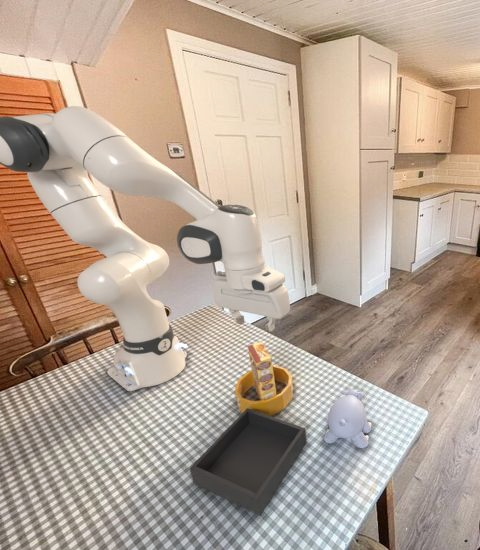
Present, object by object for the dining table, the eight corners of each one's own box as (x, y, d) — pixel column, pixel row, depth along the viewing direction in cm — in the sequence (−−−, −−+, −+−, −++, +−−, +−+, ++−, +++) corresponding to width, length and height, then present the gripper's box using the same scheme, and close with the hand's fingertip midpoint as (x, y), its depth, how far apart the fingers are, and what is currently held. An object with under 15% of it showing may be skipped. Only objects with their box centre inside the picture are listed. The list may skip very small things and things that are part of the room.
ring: (226, 408, 81) (222, 393, 79) (261, 374, 94) (259, 360, 92) (271, 424, 76) (269, 409, 74) (302, 386, 89) (301, 372, 87)
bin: (194, 484, 62) (189, 468, 60) (249, 422, 77) (247, 408, 75) (260, 516, 57) (256, 499, 55) (306, 443, 71) (305, 428, 69)
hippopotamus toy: (375, 407, 82) (375, 379, 78) (365, 458, 68) (366, 426, 64) (336, 402, 83) (335, 374, 80) (319, 451, 69) (317, 419, 66)
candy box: (278, 403, 82) (272, 357, 77) (263, 410, 80) (255, 363, 75) (269, 384, 89) (262, 340, 84) (254, 390, 87) (246, 345, 81)
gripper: (202, 274, 72) (213, 325, 77) (273, 286, 65) (281, 340, 70) (222, 266, 77) (231, 313, 82) (290, 276, 71) (296, 327, 76)
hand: (255, 326), depth 76 cm, fingers open, 8 cm apart
